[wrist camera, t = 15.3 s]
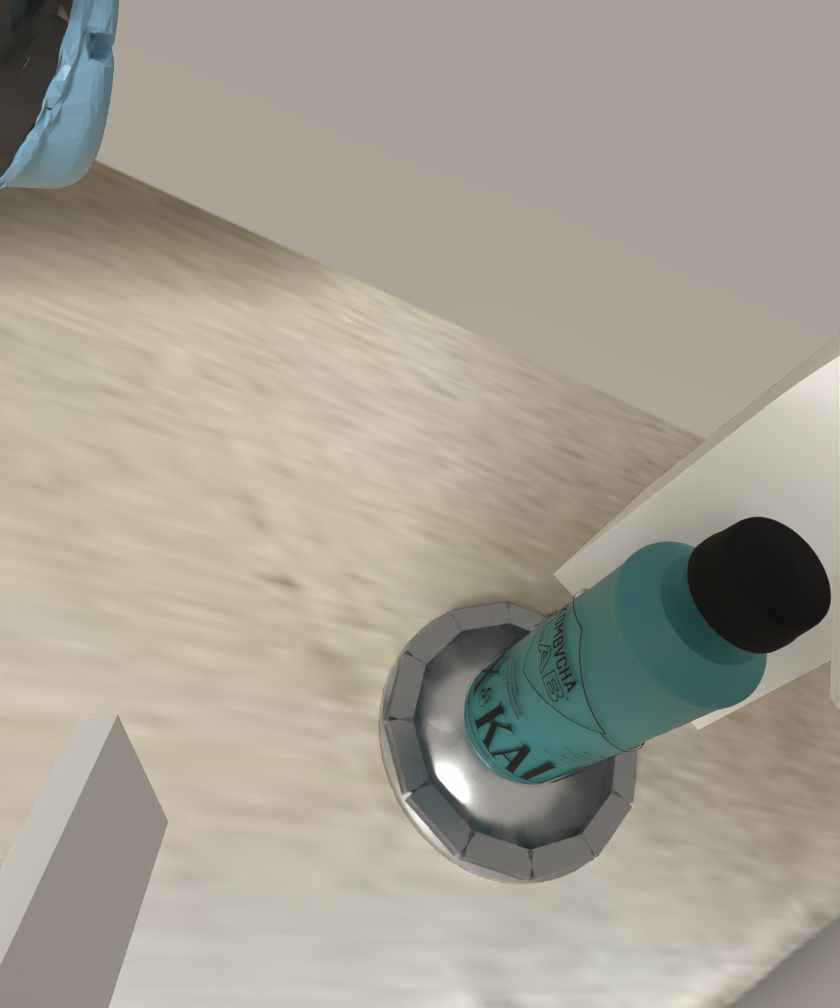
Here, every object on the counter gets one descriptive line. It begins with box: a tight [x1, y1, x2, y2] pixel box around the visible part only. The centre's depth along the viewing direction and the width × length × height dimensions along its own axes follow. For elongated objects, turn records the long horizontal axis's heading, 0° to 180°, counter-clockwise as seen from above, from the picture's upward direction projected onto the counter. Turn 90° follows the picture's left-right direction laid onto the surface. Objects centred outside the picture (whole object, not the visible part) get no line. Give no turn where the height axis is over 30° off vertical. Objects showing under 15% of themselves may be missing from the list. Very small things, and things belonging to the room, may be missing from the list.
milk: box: [553, 333, 840, 730], centre depth 39 cm, size 12×12×26 cm
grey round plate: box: [379, 602, 637, 884], centre depth 40 cm, size 14×14×1 cm
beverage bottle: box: [464, 517, 831, 787], centre depth 32 cm, size 6×7×20 cm
